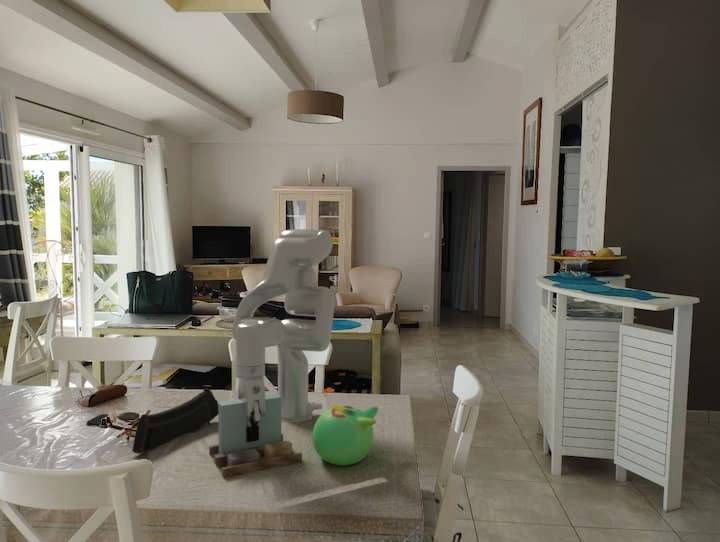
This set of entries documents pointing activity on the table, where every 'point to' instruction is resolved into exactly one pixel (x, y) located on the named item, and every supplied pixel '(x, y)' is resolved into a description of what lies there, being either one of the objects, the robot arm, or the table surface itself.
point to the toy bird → (344, 434)
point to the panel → (236, 423)
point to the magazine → (175, 422)
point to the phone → (97, 420)
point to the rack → (254, 466)
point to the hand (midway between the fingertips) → (250, 437)
